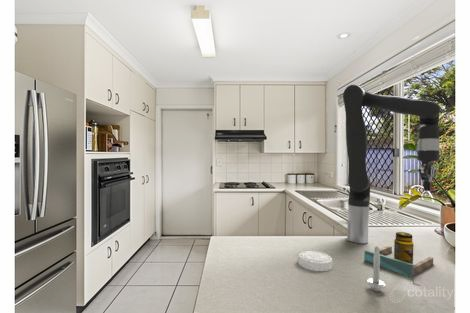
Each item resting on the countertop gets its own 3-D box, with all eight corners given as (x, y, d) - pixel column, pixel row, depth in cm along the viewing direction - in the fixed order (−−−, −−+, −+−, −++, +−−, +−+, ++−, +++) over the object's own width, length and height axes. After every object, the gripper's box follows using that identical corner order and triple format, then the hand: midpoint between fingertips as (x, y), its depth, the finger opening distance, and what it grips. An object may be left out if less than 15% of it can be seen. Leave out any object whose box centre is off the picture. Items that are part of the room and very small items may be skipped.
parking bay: (388, 251, 114) (389, 242, 114) (433, 264, 101) (433, 253, 101) (364, 261, 101) (364, 250, 101) (411, 277, 88) (411, 265, 89)
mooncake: (313, 274, 89) (313, 263, 89) (291, 261, 100) (291, 251, 100) (339, 269, 94) (340, 259, 94) (316, 257, 105) (316, 248, 105)
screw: (388, 293, 77) (372, 293, 77) (379, 285, 82) (363, 285, 82) (389, 249, 77) (373, 248, 77) (380, 243, 82) (364, 243, 82)
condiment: (416, 270, 94) (417, 237, 94) (390, 267, 97) (390, 234, 97) (410, 263, 101) (411, 232, 101) (385, 259, 104) (386, 229, 104)
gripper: (423, 150, 119) (422, 188, 118) (411, 149, 111) (410, 190, 111) (444, 150, 112) (443, 190, 112) (433, 149, 105) (432, 192, 105)
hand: (427, 190), depth 111 cm, fingers closed
